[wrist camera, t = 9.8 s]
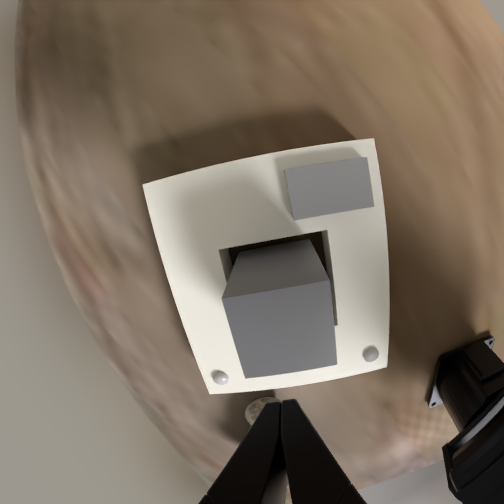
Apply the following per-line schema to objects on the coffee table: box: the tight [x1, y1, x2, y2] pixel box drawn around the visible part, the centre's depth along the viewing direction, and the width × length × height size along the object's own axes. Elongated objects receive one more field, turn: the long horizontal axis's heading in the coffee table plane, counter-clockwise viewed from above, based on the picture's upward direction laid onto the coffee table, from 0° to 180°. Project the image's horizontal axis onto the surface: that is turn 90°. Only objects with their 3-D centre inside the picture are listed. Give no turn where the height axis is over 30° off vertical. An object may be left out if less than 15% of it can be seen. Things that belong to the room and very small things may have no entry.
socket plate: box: [143, 138, 390, 394], centre depth 16 cm, size 14×12×3 cm
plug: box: [221, 239, 337, 379], centre depth 14 cm, size 4×4×7 cm
